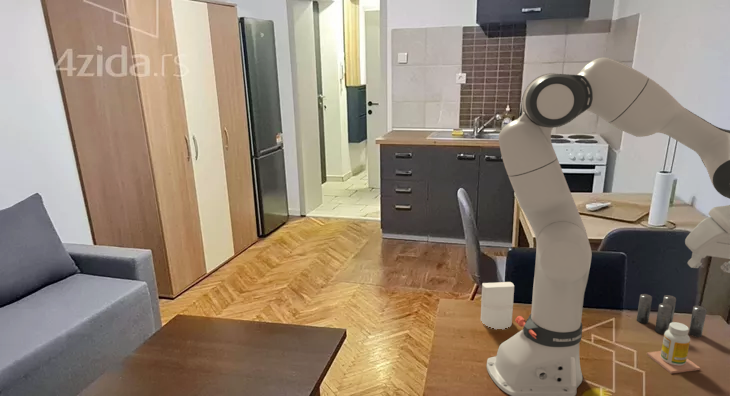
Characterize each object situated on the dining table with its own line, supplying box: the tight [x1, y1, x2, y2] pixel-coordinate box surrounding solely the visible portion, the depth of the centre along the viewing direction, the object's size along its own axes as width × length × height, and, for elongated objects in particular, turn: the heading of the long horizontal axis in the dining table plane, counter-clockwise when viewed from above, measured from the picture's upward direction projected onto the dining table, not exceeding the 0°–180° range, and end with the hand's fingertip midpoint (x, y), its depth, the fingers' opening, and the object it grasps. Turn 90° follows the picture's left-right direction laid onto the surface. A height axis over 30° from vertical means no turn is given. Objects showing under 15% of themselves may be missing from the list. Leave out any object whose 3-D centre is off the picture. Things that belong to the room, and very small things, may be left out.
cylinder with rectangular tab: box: [480, 281, 515, 330], centre depth 135 cm, size 9×9×12 cm
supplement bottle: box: [660, 321, 691, 366], centre depth 114 cm, size 5×5×10 cm
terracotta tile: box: [646, 350, 701, 374], centre depth 115 cm, size 8×8×1 cm
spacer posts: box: [636, 293, 707, 338], centre depth 130 cm, size 12×12×8 cm
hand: (708, 268), depth 102 cm, fingers open, 8 cm apart
